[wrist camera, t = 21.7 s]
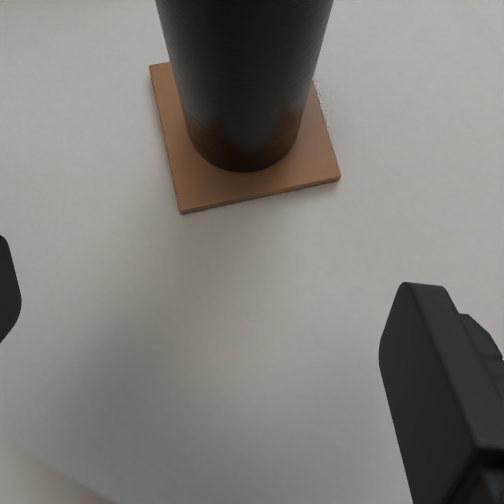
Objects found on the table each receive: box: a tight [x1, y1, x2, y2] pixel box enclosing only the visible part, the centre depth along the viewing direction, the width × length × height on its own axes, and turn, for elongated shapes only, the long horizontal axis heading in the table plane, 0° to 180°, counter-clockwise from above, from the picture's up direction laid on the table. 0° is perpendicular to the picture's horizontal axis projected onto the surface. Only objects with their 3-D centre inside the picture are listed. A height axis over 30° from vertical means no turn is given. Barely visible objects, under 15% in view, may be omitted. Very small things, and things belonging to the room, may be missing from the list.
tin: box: [155, 0, 333, 173], centre depth 15 cm, size 6×6×12 cm
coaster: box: [149, 62, 341, 214], centre depth 22 cm, size 8×8×1 cm
